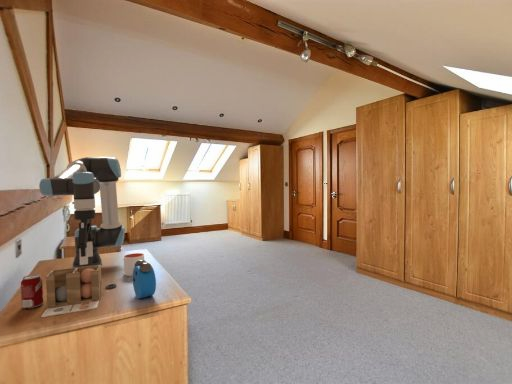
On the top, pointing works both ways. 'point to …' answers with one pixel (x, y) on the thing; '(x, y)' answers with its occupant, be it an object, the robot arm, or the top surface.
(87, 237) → the robot arm
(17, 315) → the top surface
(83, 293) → the terracotta ball
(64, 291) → the ball grey
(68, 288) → the box
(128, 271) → the cup
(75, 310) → the card
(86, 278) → the terra ball
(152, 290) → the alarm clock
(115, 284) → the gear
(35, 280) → the soda can
